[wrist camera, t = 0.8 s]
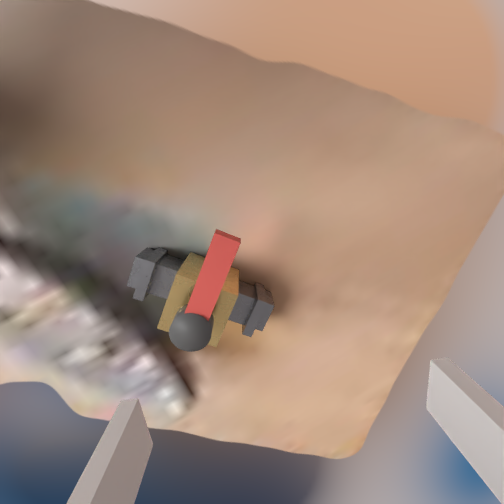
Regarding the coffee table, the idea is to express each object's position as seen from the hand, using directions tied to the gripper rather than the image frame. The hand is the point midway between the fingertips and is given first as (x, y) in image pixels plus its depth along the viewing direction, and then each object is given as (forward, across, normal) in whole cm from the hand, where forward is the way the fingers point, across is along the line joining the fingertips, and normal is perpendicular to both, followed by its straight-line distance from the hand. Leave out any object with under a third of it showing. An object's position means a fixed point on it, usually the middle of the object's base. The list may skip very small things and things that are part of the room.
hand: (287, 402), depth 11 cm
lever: (+15, -5, 0) cm, 16 cm away
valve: (+25, -7, -4) cm, 26 cm away
